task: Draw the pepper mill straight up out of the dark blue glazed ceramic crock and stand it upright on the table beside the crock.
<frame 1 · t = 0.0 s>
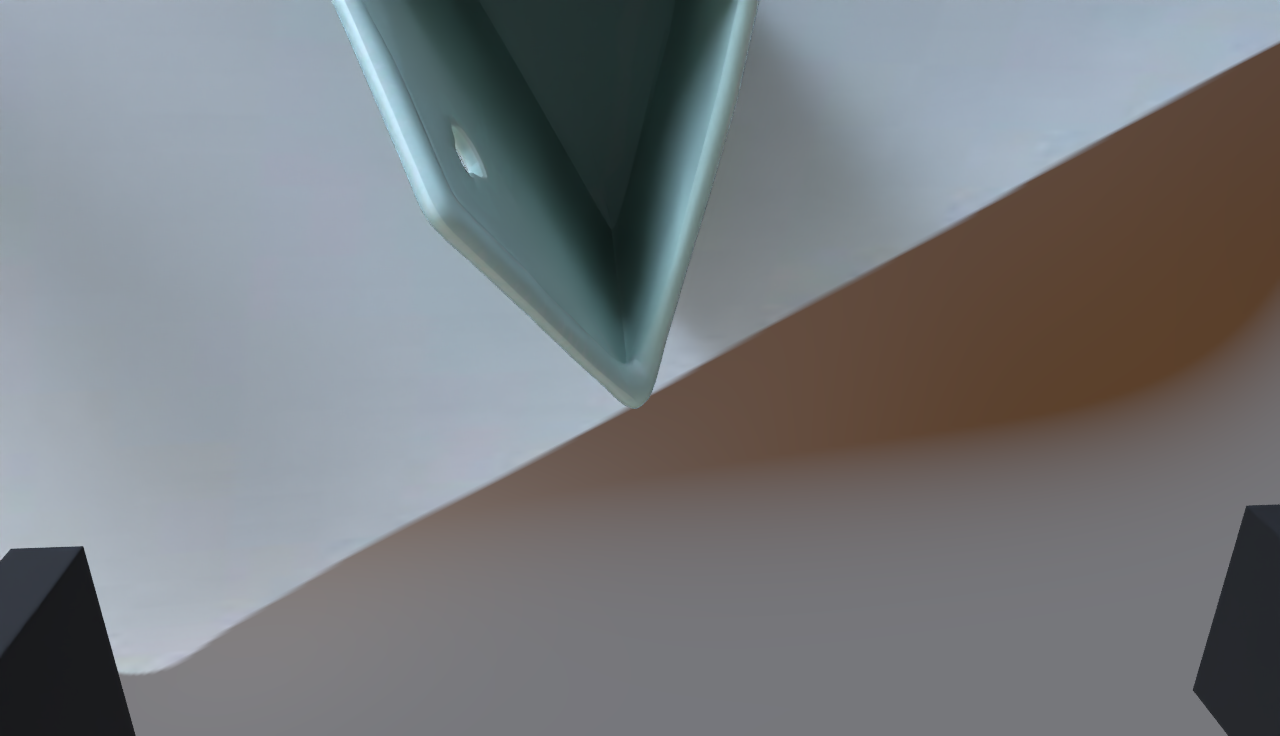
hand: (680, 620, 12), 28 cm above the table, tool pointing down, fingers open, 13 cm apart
planter: (595, 1, 36), on the table
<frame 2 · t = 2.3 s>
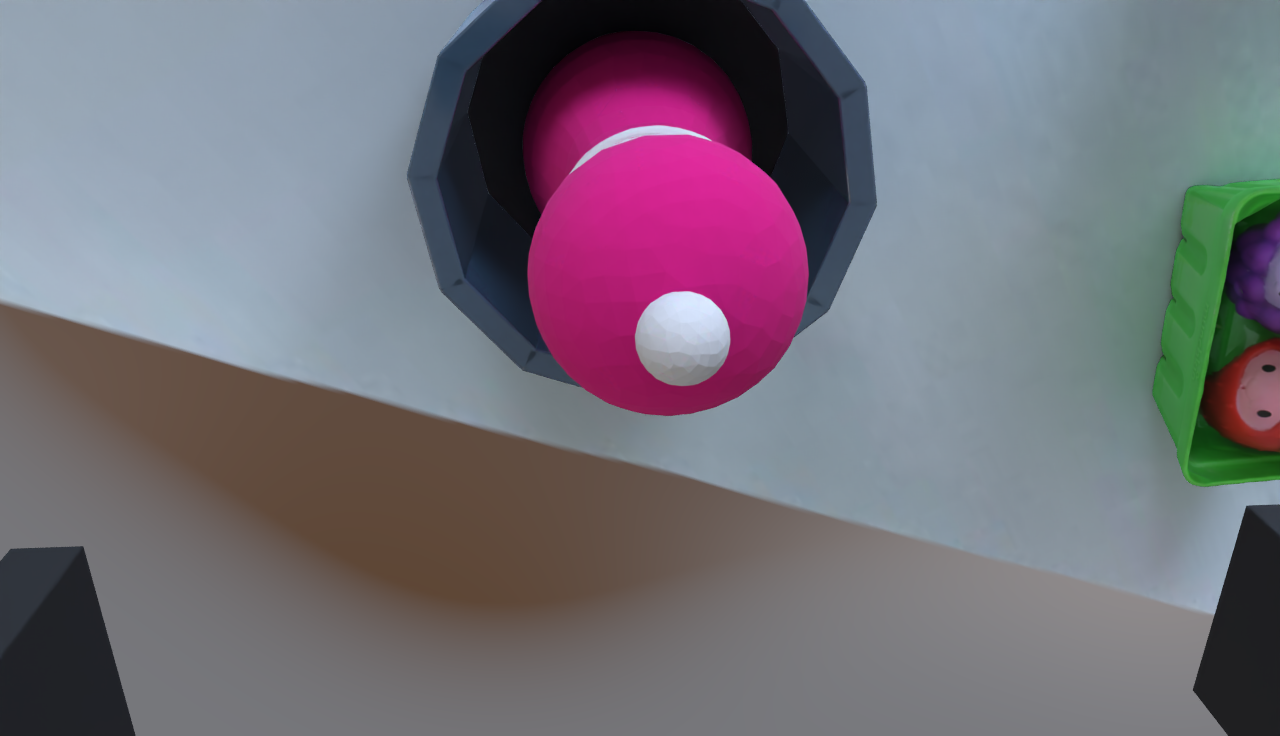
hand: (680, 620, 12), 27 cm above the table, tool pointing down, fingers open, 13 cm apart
fruit basket: (1241, 287, 41), on the table
pepper mill: (629, 120, 37), resting in crock
crock: (630, 122, 36), on the table
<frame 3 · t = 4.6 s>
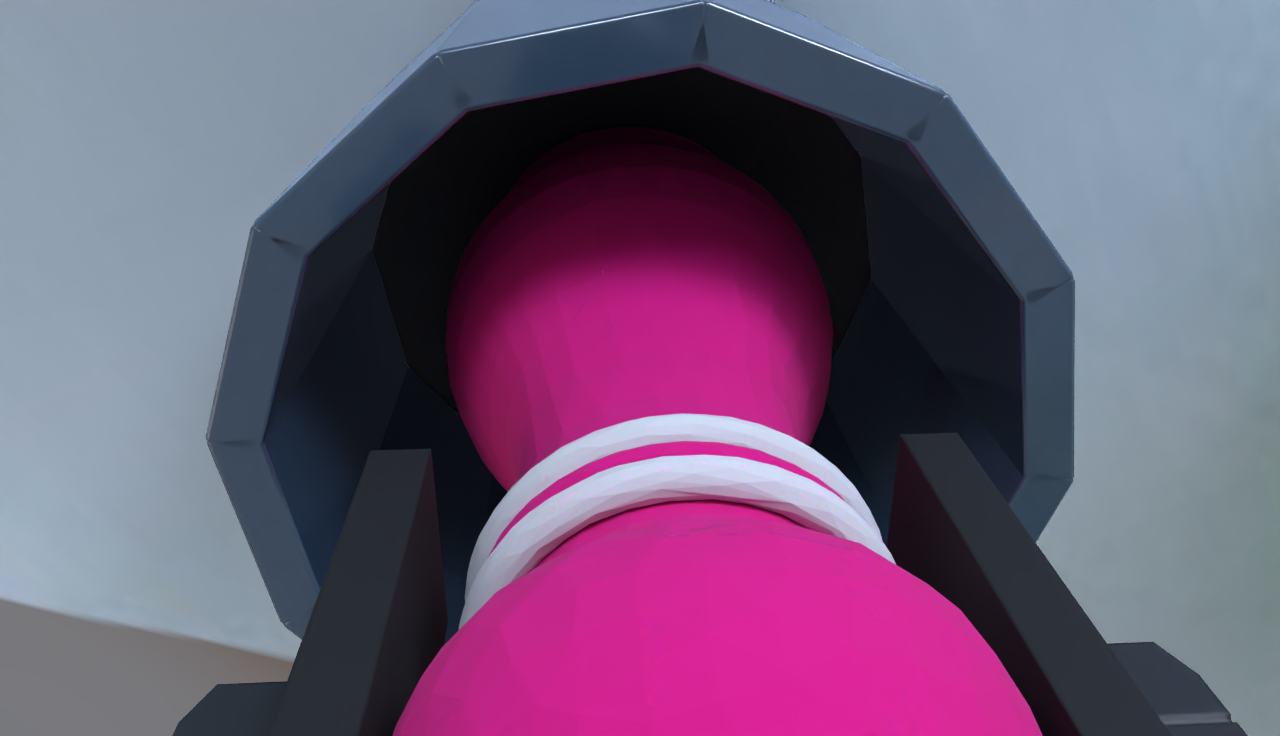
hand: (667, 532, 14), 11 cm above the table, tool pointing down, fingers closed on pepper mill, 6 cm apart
pepper mill: (627, 259, 24), resting in crock, touching gripper
crock: (627, 263, 23), on the table
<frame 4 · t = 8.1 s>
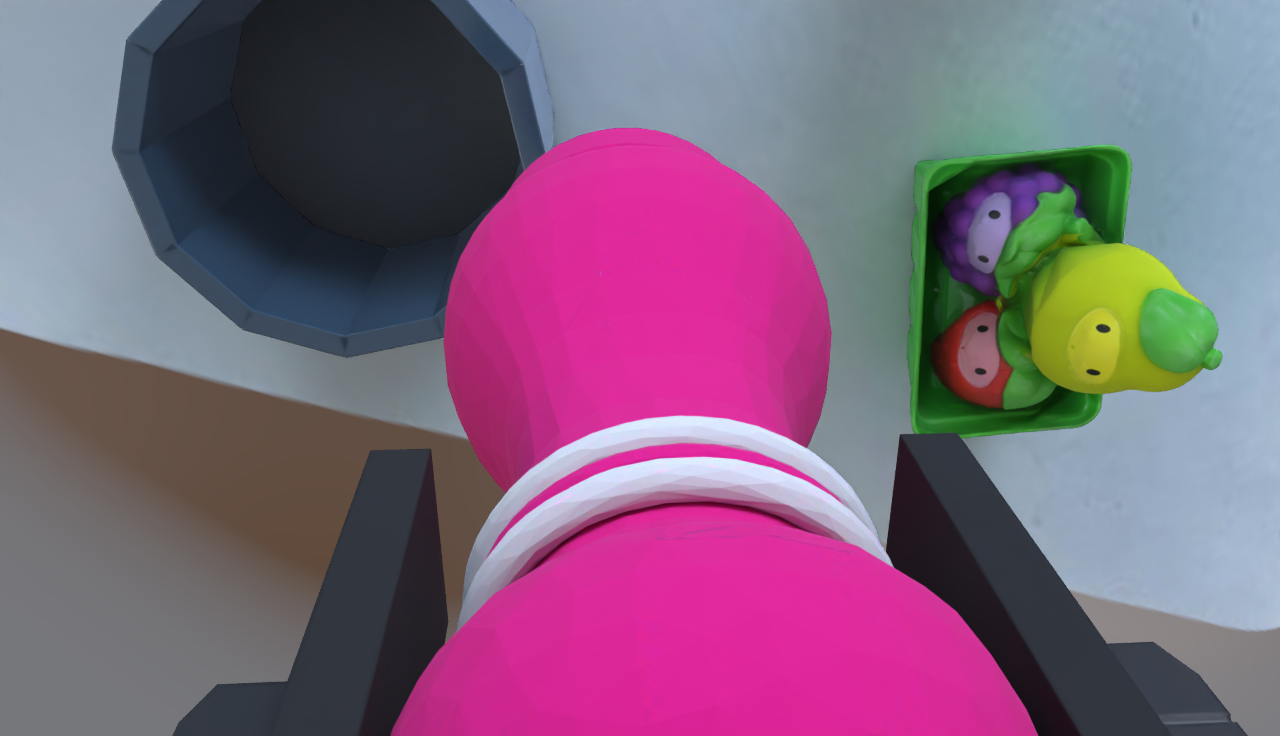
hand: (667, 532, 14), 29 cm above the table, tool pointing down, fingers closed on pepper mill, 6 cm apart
fruit basket: (982, 256, 44), on the table
pepper mill: (625, 260, 24), point 18 cm above the table, touching gripper
crock: (383, 105, 39), on the table
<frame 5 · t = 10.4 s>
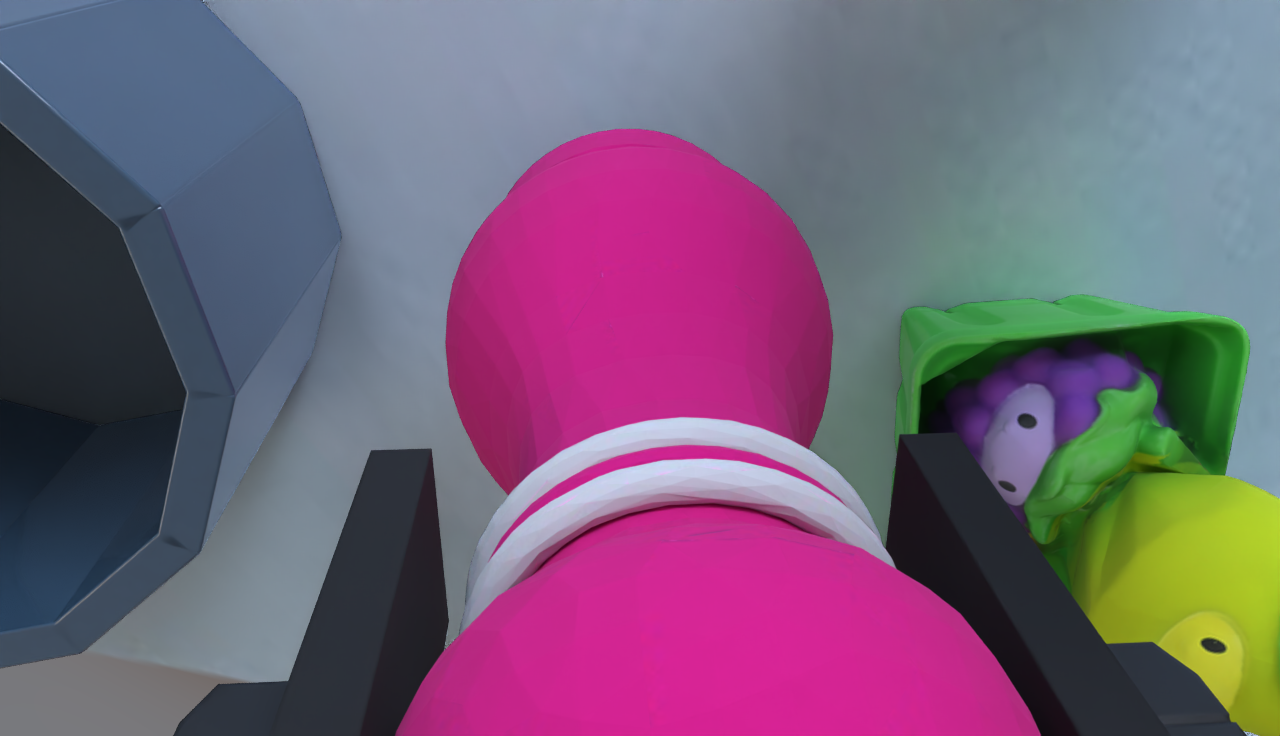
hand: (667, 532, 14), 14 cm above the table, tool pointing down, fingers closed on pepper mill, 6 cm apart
fruit basket: (999, 439, 29), on the table
pepper mill: (626, 261, 24), point 3 cm above the table, touching gripper
crock: (68, 217, 25), on the table
when the fingers open (11 cm above the table, at t = 11.6 s): pepper mill stays where it is, on the table.
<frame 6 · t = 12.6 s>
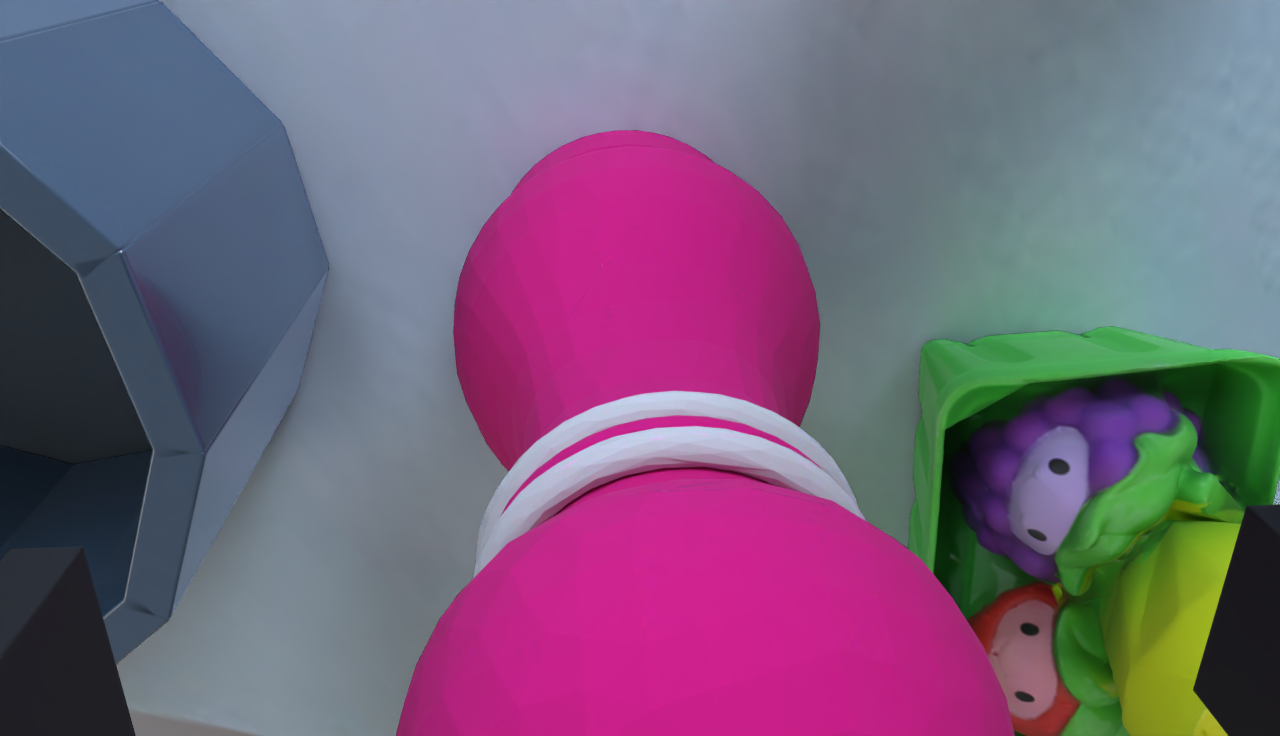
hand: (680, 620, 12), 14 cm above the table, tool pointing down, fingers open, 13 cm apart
fruit basket: (1022, 476, 28), on the table
pepper mill: (625, 257, 25), on the table
crock: (39, 247, 24), on the table
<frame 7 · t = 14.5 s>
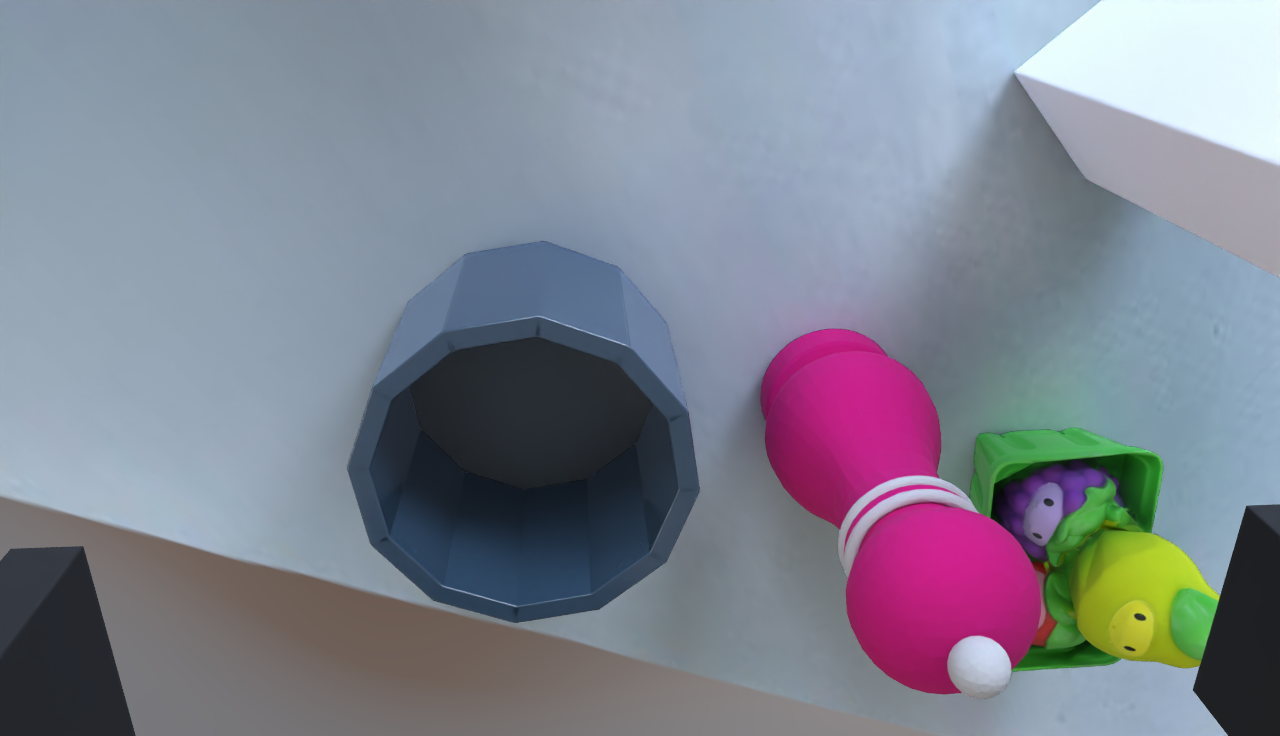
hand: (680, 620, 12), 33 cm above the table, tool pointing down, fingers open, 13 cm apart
milk: (1107, 78, 43), on the table
fruit basket: (1027, 506, 51), on the table
pepper mill: (825, 388, 48), on the table
crock: (533, 379, 46), on the table
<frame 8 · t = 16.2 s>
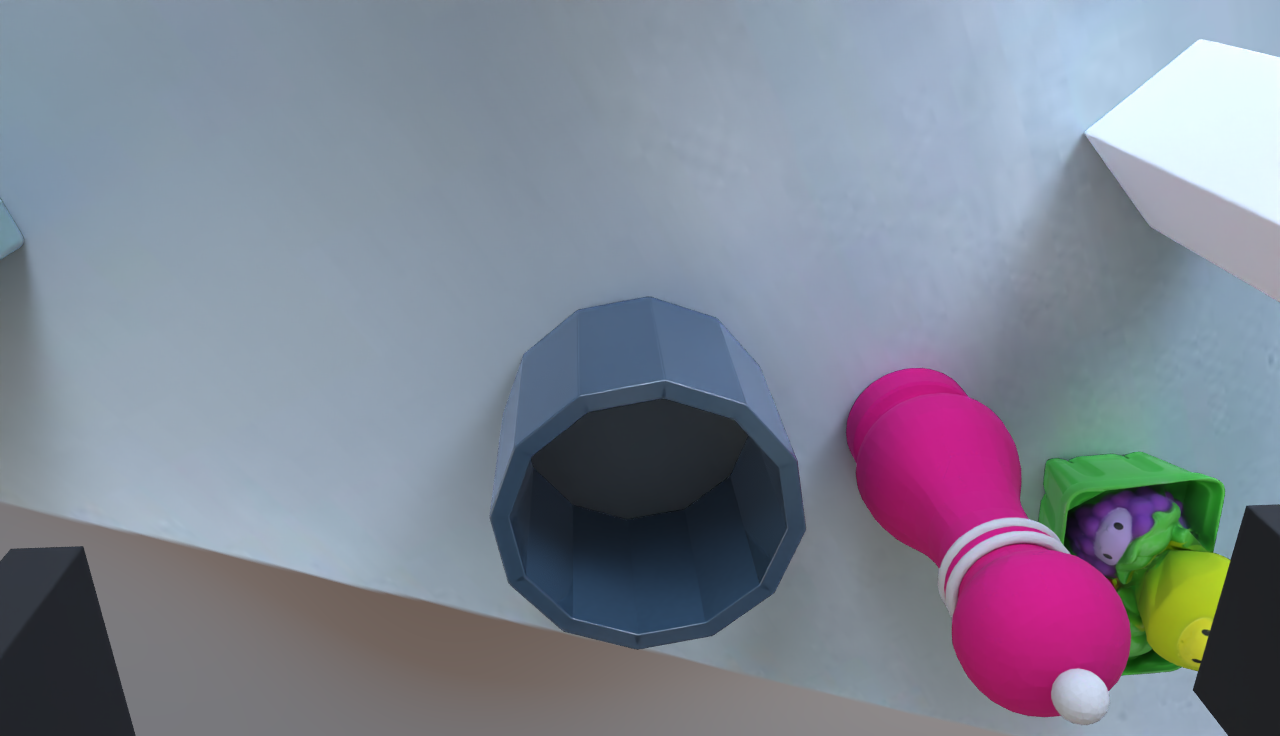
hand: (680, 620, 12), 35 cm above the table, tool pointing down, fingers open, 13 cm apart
milk: (1170, 134, 46), on the table
fruit basket: (1092, 523, 55), on the table
pepper mill: (906, 421, 51), on the table
crock: (637, 420, 50), on the table
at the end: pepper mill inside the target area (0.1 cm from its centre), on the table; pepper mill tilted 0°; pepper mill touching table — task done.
